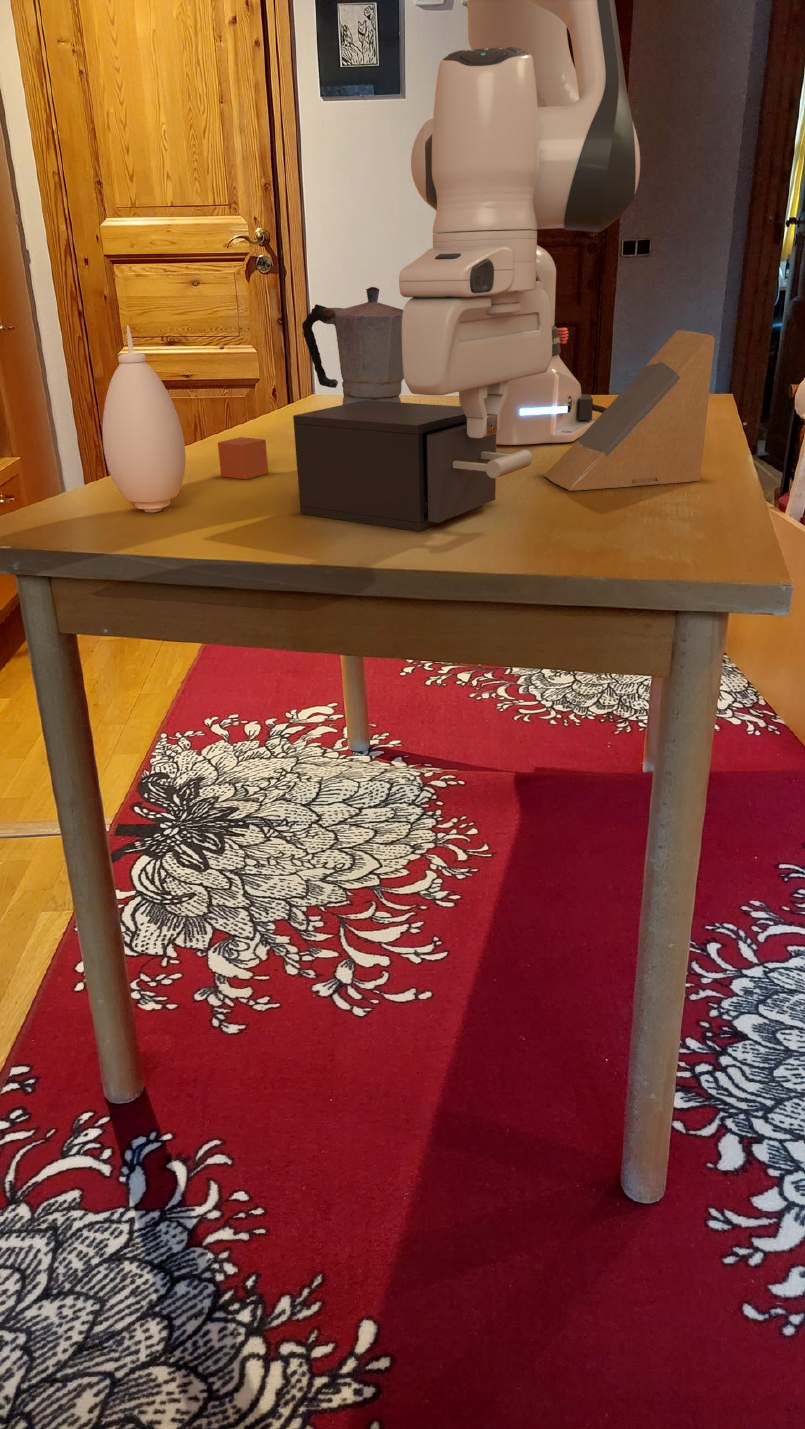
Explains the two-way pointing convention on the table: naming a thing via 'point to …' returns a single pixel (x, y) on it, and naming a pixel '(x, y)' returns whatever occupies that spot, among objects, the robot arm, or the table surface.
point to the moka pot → (362, 349)
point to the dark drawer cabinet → (368, 461)
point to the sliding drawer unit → (463, 470)
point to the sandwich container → (648, 424)
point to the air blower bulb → (142, 434)
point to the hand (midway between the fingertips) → (483, 435)
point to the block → (243, 458)
